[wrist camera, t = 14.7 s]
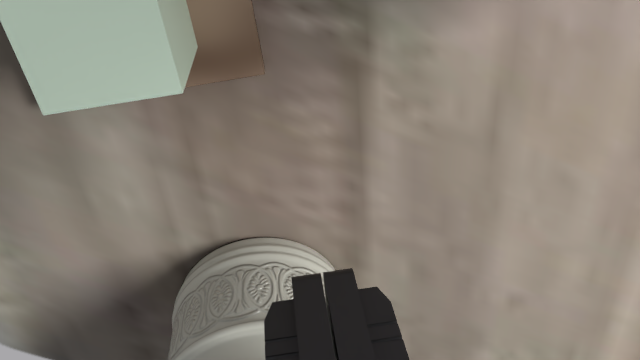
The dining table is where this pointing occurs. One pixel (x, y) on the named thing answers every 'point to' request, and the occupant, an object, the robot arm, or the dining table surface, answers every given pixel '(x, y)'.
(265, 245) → the jar
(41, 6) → the sage cap
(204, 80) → the walnut board
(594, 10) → the dining table surface
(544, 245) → the dining table surface
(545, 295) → the dining table surface
